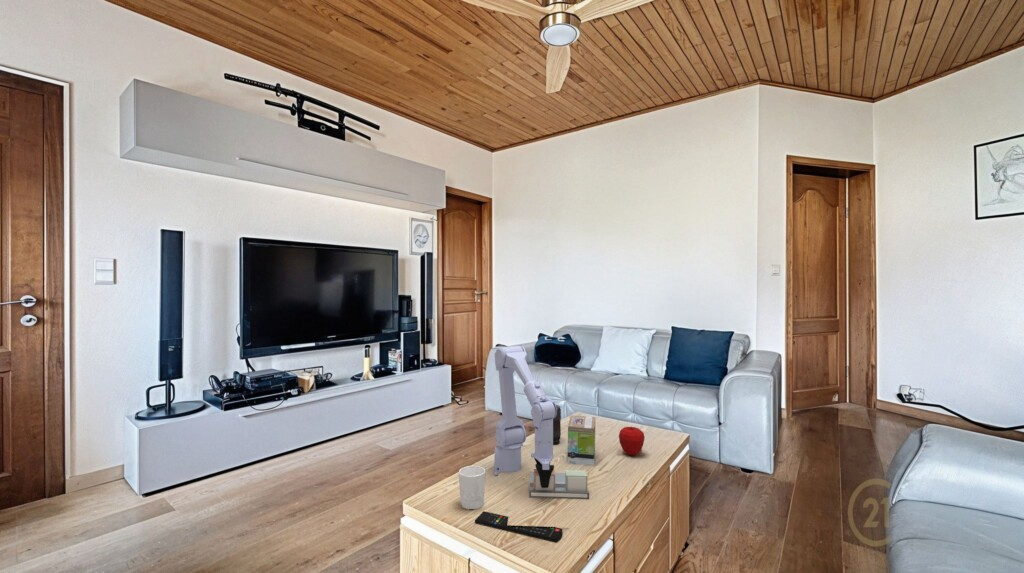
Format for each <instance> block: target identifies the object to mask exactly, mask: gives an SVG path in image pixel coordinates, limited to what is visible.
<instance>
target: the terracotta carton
mask: <svg viewBox="0 0 1024 573" xmlns="http://www.w3.org/2000/svg"><path fill="white" fill-rule="evenodd" d="M533 472H534V482H533V489H534V490H548V491H555V473H556V471H555V469H554V470H553V471H552V474H551V477H550V481H549V486H548V488H541V484H540V478H539V474H538V471H537V469H536V468H533Z"/></svg>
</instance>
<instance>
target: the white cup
mask: <svg viewBox="0 0 1024 573" xmlns="http://www.w3.org/2000/svg"><path fill="white" fill-rule="evenodd" d="M458 474H459V475H458V479H459V481H458V482H459V484H458V485H459V494H460V495H459V496H460V506H461V505H462V506H461V507H462V508H463V507H464V508H463V509H465V508H466V509H465V510H469V509H474V510H478V509H481V508H482V507H483V506H484V503H485V502H484V501H485V488H486V486H485V485H486V469H485V468H484V467H482V466H479V465H468V466H467V465H466V466H463V467H461V468H460V469H459V470H458Z"/></svg>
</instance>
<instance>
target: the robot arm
mask: <svg viewBox="0 0 1024 573" xmlns="http://www.w3.org/2000/svg"><path fill="white" fill-rule="evenodd" d="M527 361H528V353H527V350H526V349H525V346H523V345H517V346H513V345H512V346H503V347H502V346H499V347H497V348H496V351H495V352H494V363H495V370H496V371H497V372H498V381H499V390H500V391H499V393H500V402H501V403H500V404H501V414H502V418H501V420H499V421H498V422H497V423H496V425H495V435H494V437H495V442H496V444H497V445H495V447H494V462H493V463H494V464H493V467H494V472H493V473H494V474H493V475H494V476H499V473H500V472H503V473H504V472H505V473H518V472H519V471H521V470H522V447H523V446H524V443H525V442H526V439H527V432H526V429H525V426H524V421H522V420H521V419H520V418H519V417H518V413H517V405H516V403H517V402H516V401H517V400H516V392H515V391H516V390H515V381H514V372H516V373H517V375H518V377H519V379H520V380H521V382H522V383H523V385H524V387H523V393H524V394H525V397H526V399H527V401H528V403H529V404H530V407H531V409H530V413H531V414H530V415H531V417H532V424H533V426H534V452H531V453H530V457H531V458H532V459H533V458H534V460H535V463H536V464H535V469H537V471H538V474H539V478H540V484H541V488H548V486H549V481H550V477H551V474H552V471H553V470H554V471H555V465H554V464H551V462H552V461H553V459H554V456H555V455H554V445H553V419H554V418H555V417H556V415H557V408H556V405H557V404H556V403H555V401H554V400H552V399H551V398H550V397H547V395H546V393H545V391H544V389H543V387H542V385H541V383H540V382H539V381H536V380H535V379H534V376H533V374H532V373H531V370H530V367H529V365H528V363H527Z"/></svg>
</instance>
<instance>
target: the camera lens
mask: <svg viewBox="0 0 1024 573" xmlns="http://www.w3.org/2000/svg"><path fill="white" fill-rule="evenodd" d="M555 405H556V408H557V415H556V417H555V418H554V419H553V446H555V445H558V444H560V439H561V435H562V432H561V431H562V430H561V422H562V421H561V420H562V413H561V412H562V410H561V406H560V405H557V404H555Z"/></svg>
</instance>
